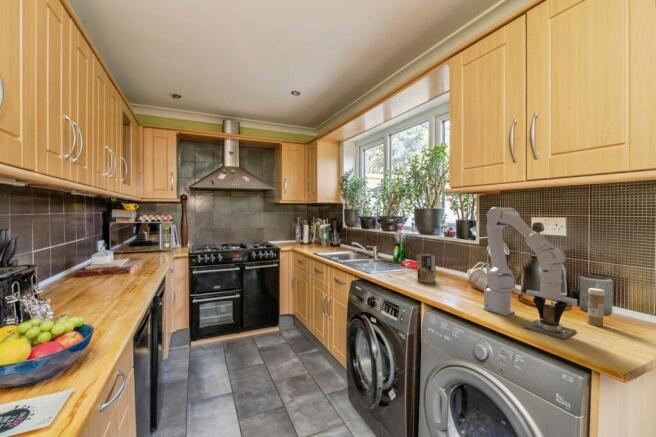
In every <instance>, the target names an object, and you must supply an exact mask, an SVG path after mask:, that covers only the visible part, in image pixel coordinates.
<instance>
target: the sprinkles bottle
mask: <svg viewBox="0 0 656 437" xmlns="http://www.w3.org/2000/svg"><path fill="white" fill-rule="evenodd" d="M587 290H588V291H587V294H588V303H587V305H588V306H587V321H586V323H588V324H589V325H590V326H594V327H603V326H604V316H605V315H604V314H605V313H604V312H605V310H604V309H605V295H606V292H605V289H602V288H597V287H596V288H595V287H590V288H588V289H587Z"/></svg>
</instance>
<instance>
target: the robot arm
mask: <svg viewBox="0 0 656 437" xmlns="http://www.w3.org/2000/svg"><path fill="white" fill-rule="evenodd" d="M485 215H486V219H487V220H486V222H487V223H486V234H487V240H488V248H489V253H490V254H489V256H490V261H491V268H490V270H488V272H487V279H486V283H487V286H488V287H487V288H485V290H484V292H483V293H484V294H483V308H482V309H483V310H485V311H489V312H491V313H492V312H493V313H496V314H499V315H504V316H509V315H511V314H514V313H516V312H515V310H512V308H511V307H512V306H511V304H512V292H513V289H514V288H515V287H516V284H517V282H516V278H515V277H514V274H513V271H512V270H511V269H510V268H509V267H508V263H507V258H506V252H505V251H506V250H505V245H504V238H503V232H502V231H503V230H504V228H505V227H506V226H508V225H511V226H512V228H514V229H515V230H516V231H517V232H518V233H519V234H521V235H522V236H523V237H524V238H525V243H526V245H527V246H529V247H528V248H530V249H531V250H532V251H533V252H534V253H535V254H536V255H537V256H536V257H537V261H538V262H539V265H540V266H539V268H540V271H541V272H540V291H539V290H538V291H537V290H532V289H526V291H525V296H526V297H527V296H528V297H533V299H532V301H533V304H534V305H535V307H536V309H537V311H538V312H537V313H538V315H539V319H543V305H545V304H546V300H547V301H550V302H551V301H552V302H555V303H554V306H555V312H556V315H555V323H561V322H560V321H561V317H562V316H563V313H564V311H565V309H566V308H567V307H568V305H571V306H574V307H576V306H578V299H576V298H572V297H569V296H568V297H567V296H565V295H562V294H561V292H562V271H563V270H562V268H563V267H562V265H563V264H564V263H565V262H566V259H567V256H566V253H565V252H564V250H562V249H561V248H558V247H557V248H556V247H555V245H554V244H552V243H550V242H549V241H548V240H547V238H545V235H544V234H543V233H540V232H534V230H532V228H531V227H530V226H529V225H528V224H527V223H526V222H525V221H524V220H523V218H522V217H521V216H520V212H518V211H516V209H515V208H513V207H497V206H493V207H491V208H490V209H489V210H488V211H487V213H486V214H485Z"/></svg>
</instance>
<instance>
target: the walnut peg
mask: <svg viewBox="0 0 656 437" xmlns="http://www.w3.org/2000/svg"><path fill="white" fill-rule="evenodd" d="M555 315H556V312H555V305H554V304H546V303H545V305H543V324H547V325H551V326H557V323H555Z"/></svg>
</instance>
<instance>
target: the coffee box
mask: <svg viewBox="0 0 656 437" xmlns="http://www.w3.org/2000/svg"><path fill="white" fill-rule="evenodd" d="M436 256H437V255H436V254H428V253H426V254H425V253H420V254H417V279H416V280H417V282H422V283H430V284H433V283H435V282H436V278H437V277H436V276H437V275H436V273H437V270H436V268H437V262H436V260H437V258H436Z"/></svg>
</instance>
